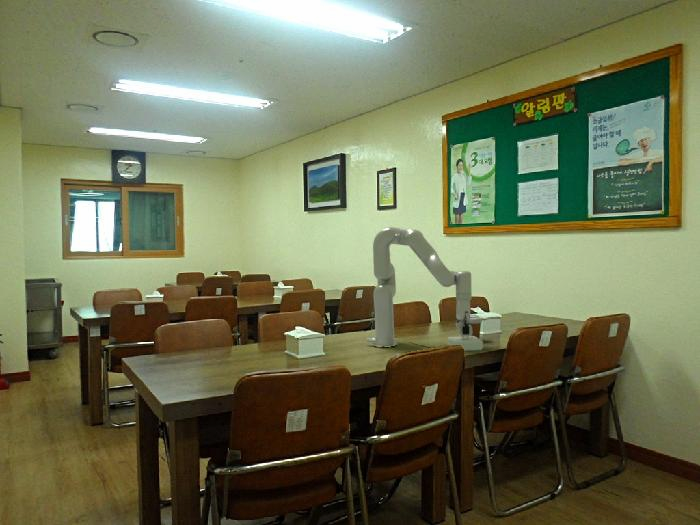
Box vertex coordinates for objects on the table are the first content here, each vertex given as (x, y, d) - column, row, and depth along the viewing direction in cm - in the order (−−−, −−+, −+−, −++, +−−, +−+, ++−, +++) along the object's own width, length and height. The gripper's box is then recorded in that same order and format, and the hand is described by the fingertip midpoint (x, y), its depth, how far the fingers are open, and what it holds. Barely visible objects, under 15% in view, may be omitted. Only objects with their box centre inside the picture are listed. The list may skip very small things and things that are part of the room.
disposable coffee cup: (484, 342, 270) (483, 319, 270) (465, 343, 271) (464, 319, 270) (480, 339, 280) (479, 316, 279) (461, 339, 280) (461, 317, 280)
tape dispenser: (465, 339, 263) (451, 323, 264) (475, 330, 262) (462, 315, 263) (465, 341, 257) (451, 325, 258) (476, 332, 256) (462, 316, 257)
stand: (453, 350, 253) (453, 341, 253) (447, 345, 267) (447, 336, 267) (483, 349, 253) (482, 341, 253) (475, 344, 267) (474, 335, 267)
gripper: (451, 295, 268) (452, 330, 268) (460, 298, 250) (460, 336, 251) (466, 294, 268) (467, 330, 269) (476, 298, 251) (476, 336, 251)
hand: (464, 332), depth 260 cm, fingers closed on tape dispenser, 6 cm apart
